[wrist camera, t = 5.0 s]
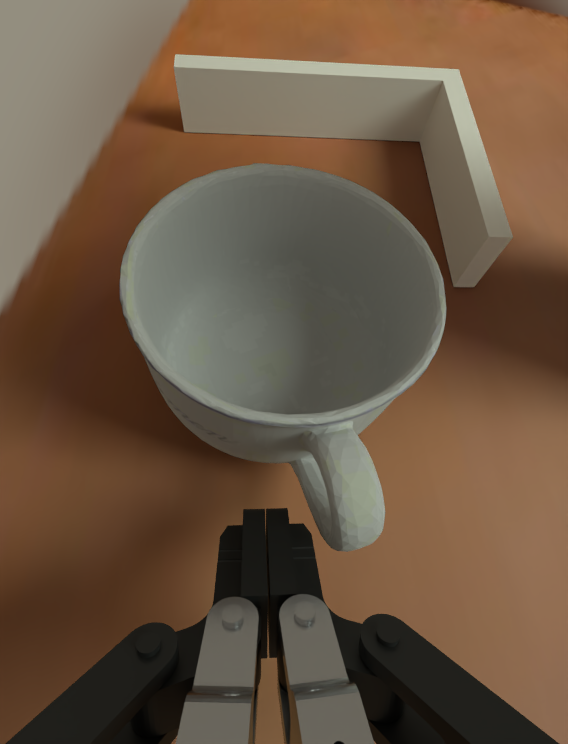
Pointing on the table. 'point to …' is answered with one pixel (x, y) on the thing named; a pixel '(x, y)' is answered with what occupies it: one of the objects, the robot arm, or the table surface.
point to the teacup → (286, 324)
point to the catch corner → (363, 130)
